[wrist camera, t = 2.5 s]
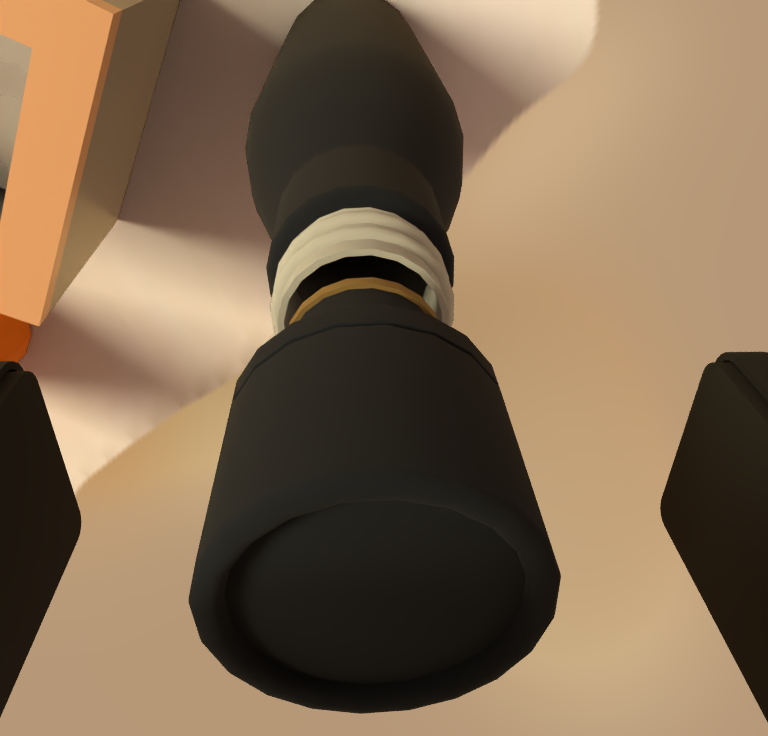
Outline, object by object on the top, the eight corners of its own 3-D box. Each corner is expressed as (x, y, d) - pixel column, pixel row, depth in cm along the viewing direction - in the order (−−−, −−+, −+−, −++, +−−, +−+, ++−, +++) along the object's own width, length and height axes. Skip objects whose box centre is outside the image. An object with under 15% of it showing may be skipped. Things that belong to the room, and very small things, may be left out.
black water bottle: (312, -38, 29) (137, 231, 5) (443, 29, 31) (836, 492, 6) (263, 103, 33) (4, 720, 8) (384, 157, 34) (492, 803, 9)
